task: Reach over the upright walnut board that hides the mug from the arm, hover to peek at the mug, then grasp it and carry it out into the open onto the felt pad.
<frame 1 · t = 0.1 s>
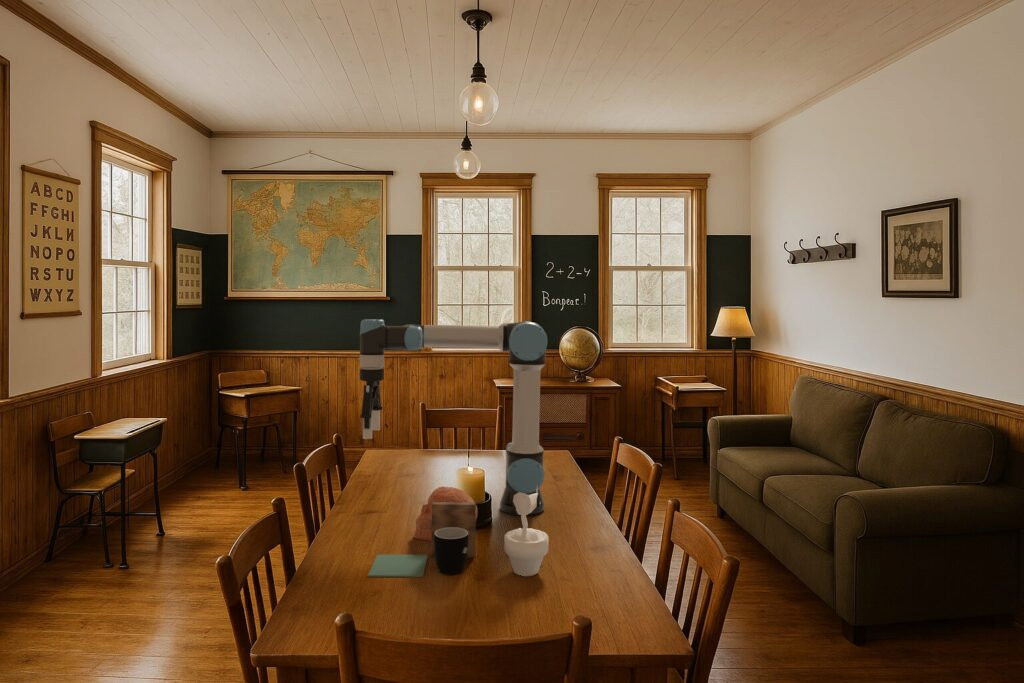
hand: (371, 434, 212), 28 cm above the table, fingers open, 13 cm apart
walnut board: (453, 556, 185), on the table
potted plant: (526, 572, 176), on the table
felt pad: (399, 566, 178), on the table
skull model: (446, 538, 200), on the table
mug: (451, 568, 177), on the table
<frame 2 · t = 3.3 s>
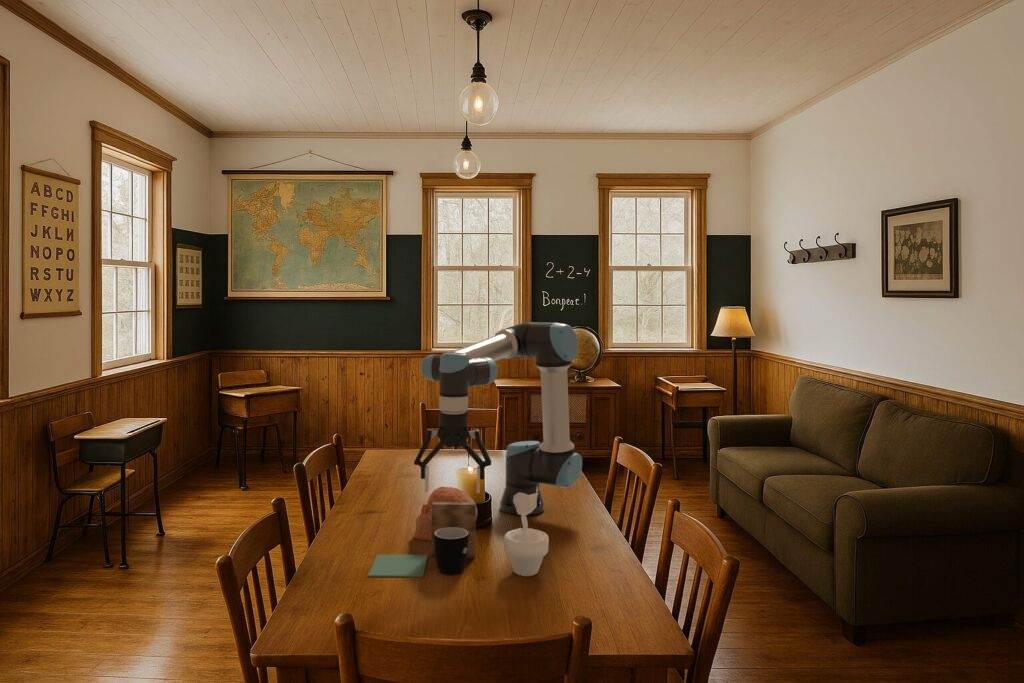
hand: (452, 491, 176), 21 cm above the table, fingers open, 13 cm apart
nothing on the table moved.
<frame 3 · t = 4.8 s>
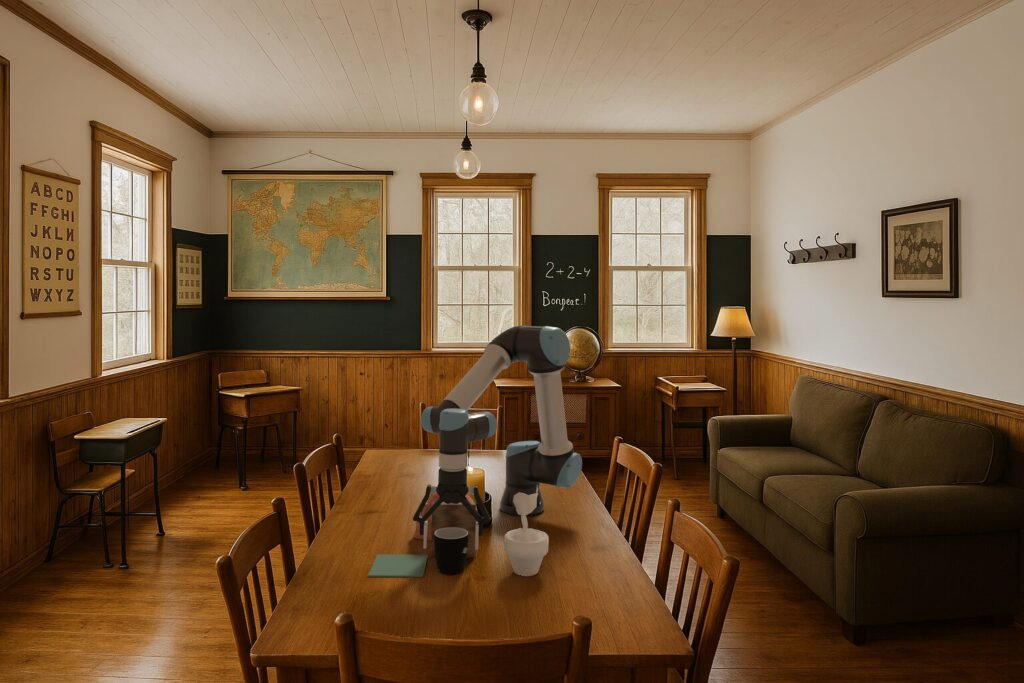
hand: (451, 547, 177), 6 cm above the table, fingers open, 13 cm apart
nothing on the table moved.
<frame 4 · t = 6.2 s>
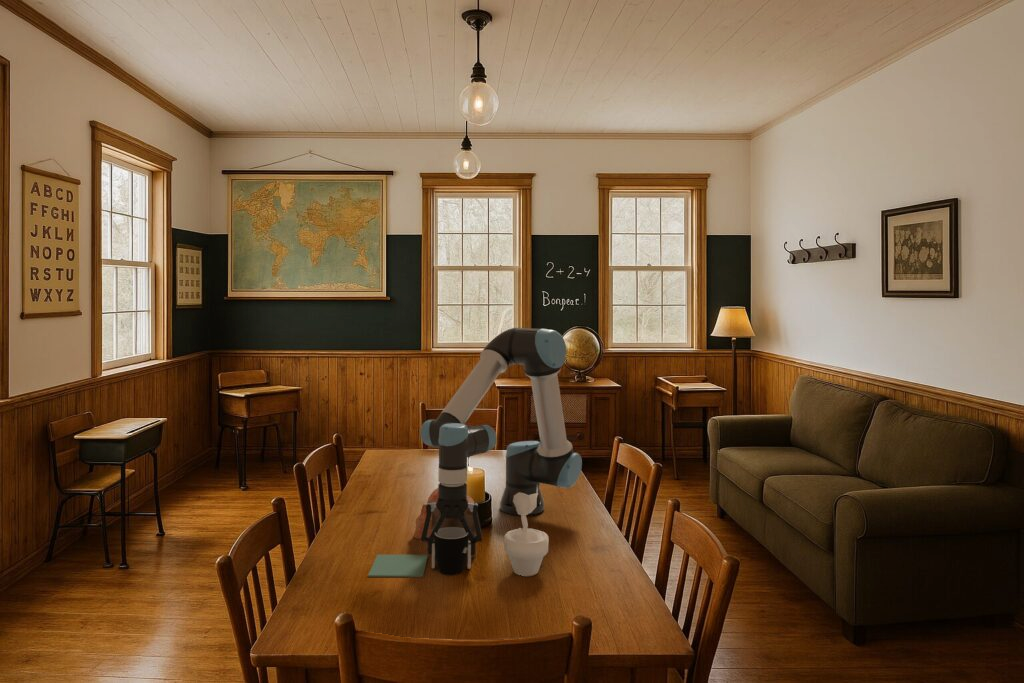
hand: (451, 566, 177), 0 cm above the table, fingers closed on mug, 9 cm apart
mug: (451, 568, 177), on the table, touching gripper
everything else where it was.
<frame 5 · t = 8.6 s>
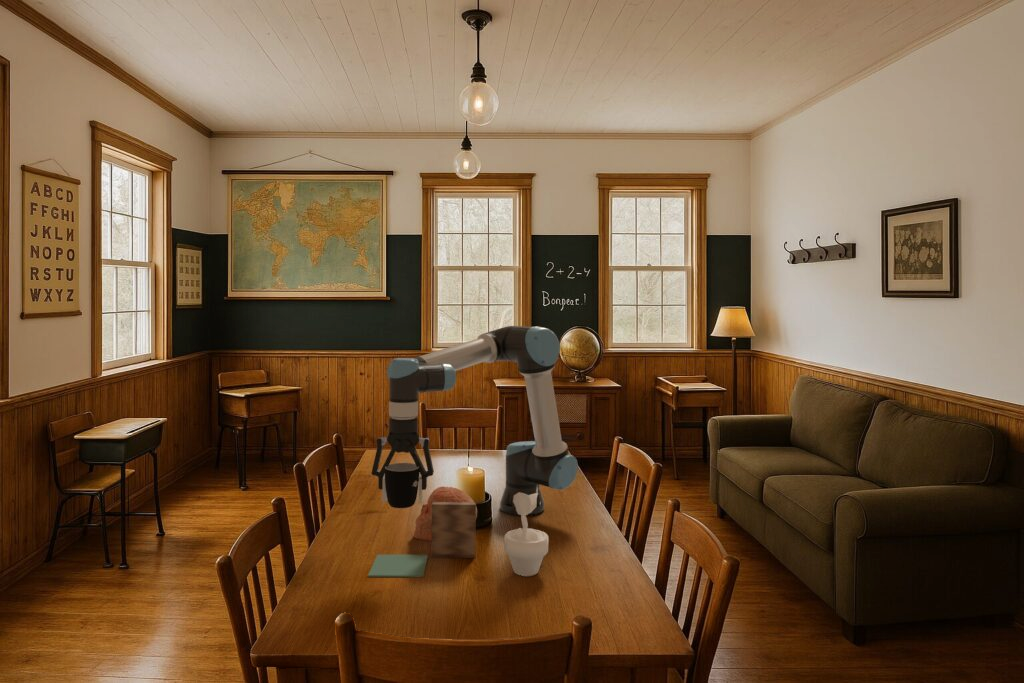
hand: (402, 501, 177), 18 cm above the table, fingers closed on mug, 9 cm apart
mug: (402, 503, 177), point 17 cm above the table, touching gripper
everything else where it was.
when the fingers open (2 cm above the table, at t = 11.3 s): mug stays where it is, resting on felt pad.
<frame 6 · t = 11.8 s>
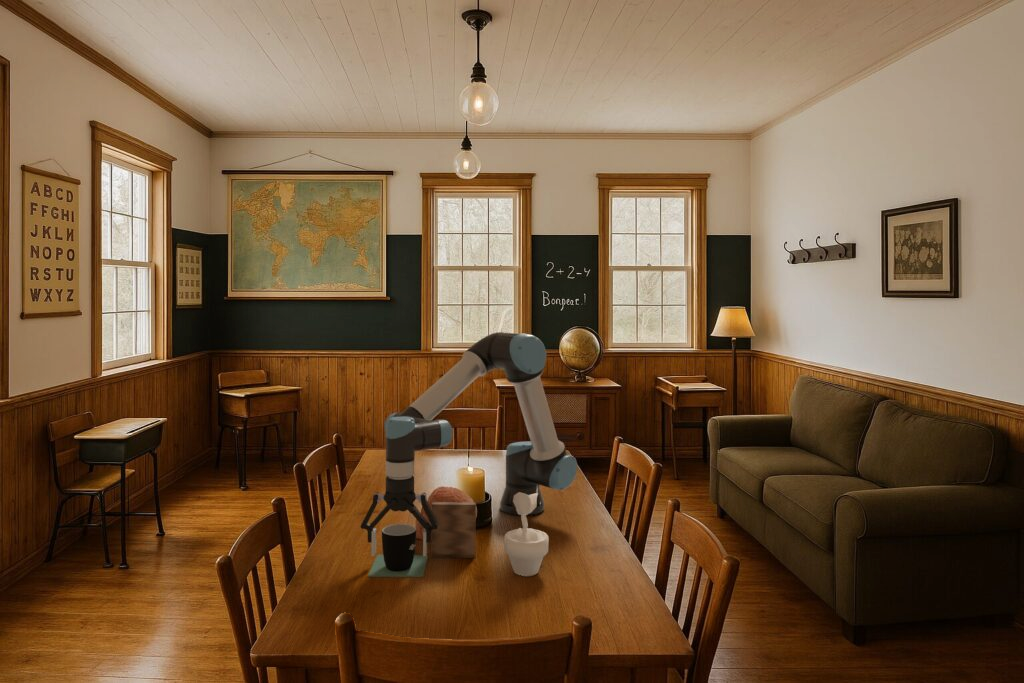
hand: (399, 554, 178), 3 cm above the table, fingers open, 13 cm apart
mug: (399, 565, 178), resting on felt pad
everything else where it was.
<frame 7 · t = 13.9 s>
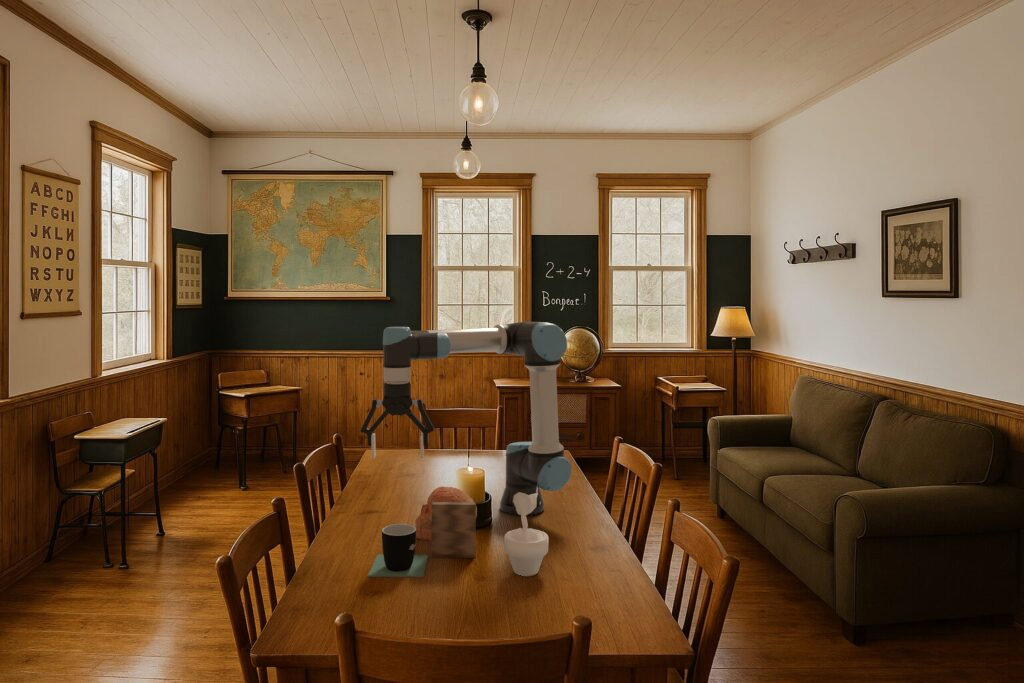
hand: (398, 456, 188), 27 cm above the table, fingers open, 13 cm apart
nothing on the table moved.
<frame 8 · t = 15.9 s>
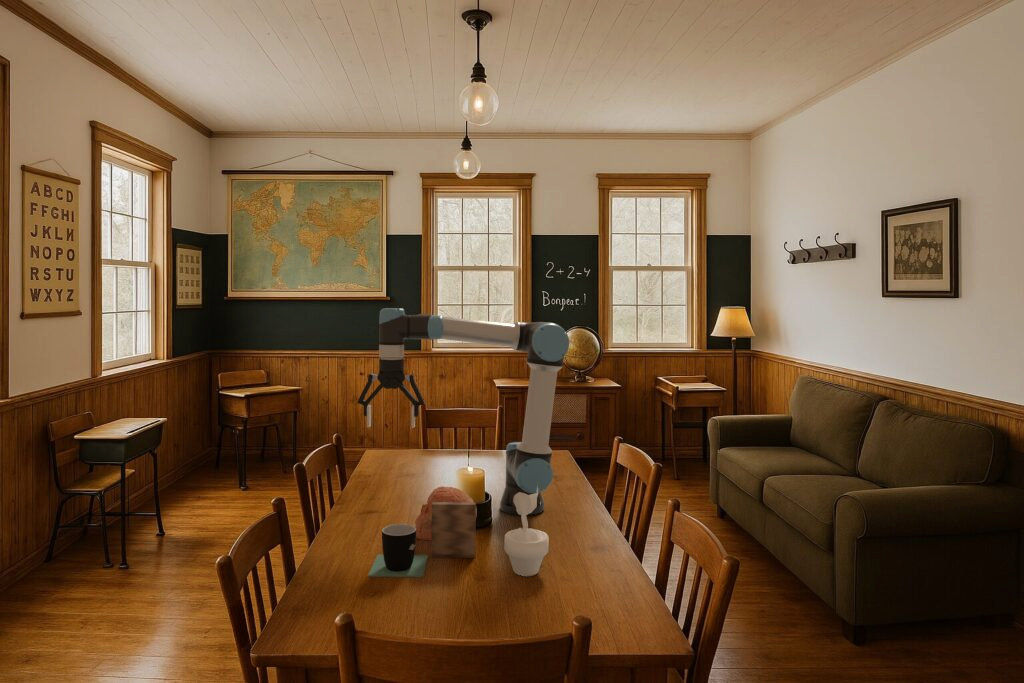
hand: (391, 427, 206), 32 cm above the table, fingers open, 13 cm apart
nothing on the table moved.
at the end: mug inside the target area on the felt pad (0.2 cm from its centre), point 0.2 cm above the felt pad's base; mug tilted 0°; the gripper is holding nothing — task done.
